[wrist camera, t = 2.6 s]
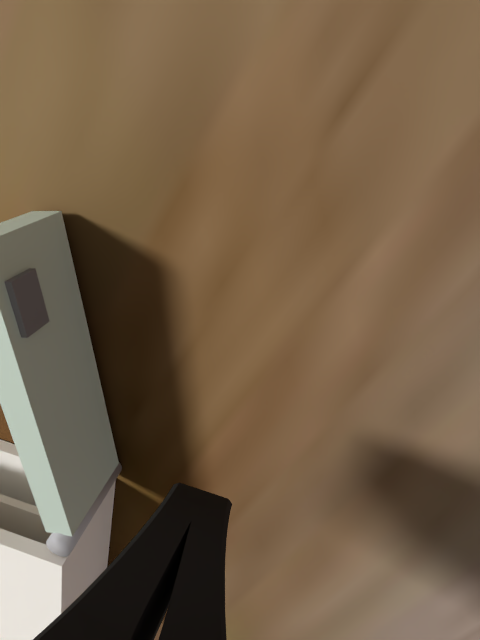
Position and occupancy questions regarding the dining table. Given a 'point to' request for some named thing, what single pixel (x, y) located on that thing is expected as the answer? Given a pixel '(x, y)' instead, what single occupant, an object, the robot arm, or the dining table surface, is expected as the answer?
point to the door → (52, 379)
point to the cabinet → (41, 556)
